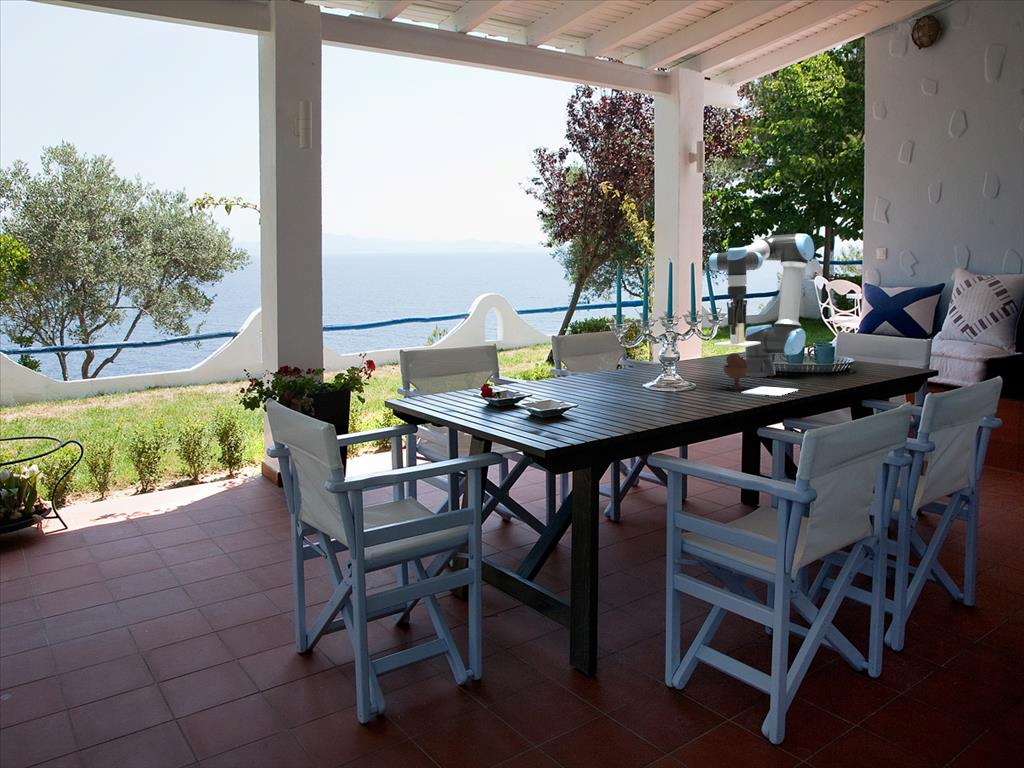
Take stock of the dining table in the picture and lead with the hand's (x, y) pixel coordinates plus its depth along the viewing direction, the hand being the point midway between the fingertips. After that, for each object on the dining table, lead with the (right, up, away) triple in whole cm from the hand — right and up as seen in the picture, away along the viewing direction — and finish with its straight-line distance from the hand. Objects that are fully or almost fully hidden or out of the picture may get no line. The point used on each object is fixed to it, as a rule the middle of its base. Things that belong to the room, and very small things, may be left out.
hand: (737, 341), depth 353 cm
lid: (0, -1, 0) cm, 1 cm away
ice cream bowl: (0, -20, +3) cm, 20 cm away
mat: (+11, -21, -10) cm, 25 cm away
